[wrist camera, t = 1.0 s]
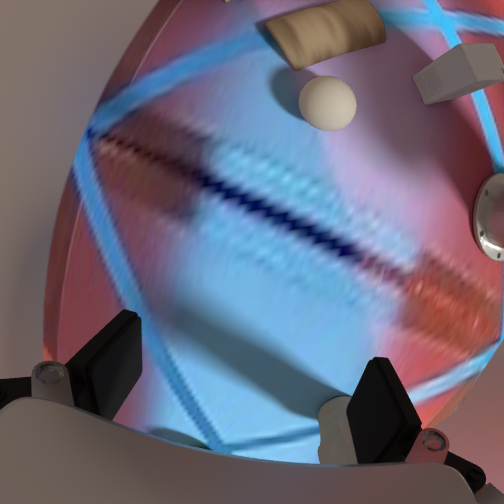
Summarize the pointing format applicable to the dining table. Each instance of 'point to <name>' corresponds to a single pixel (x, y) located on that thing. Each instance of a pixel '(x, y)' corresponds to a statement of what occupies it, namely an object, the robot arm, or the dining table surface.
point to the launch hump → (327, 31)
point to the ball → (327, 103)
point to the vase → (335, 433)
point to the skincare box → (460, 72)
